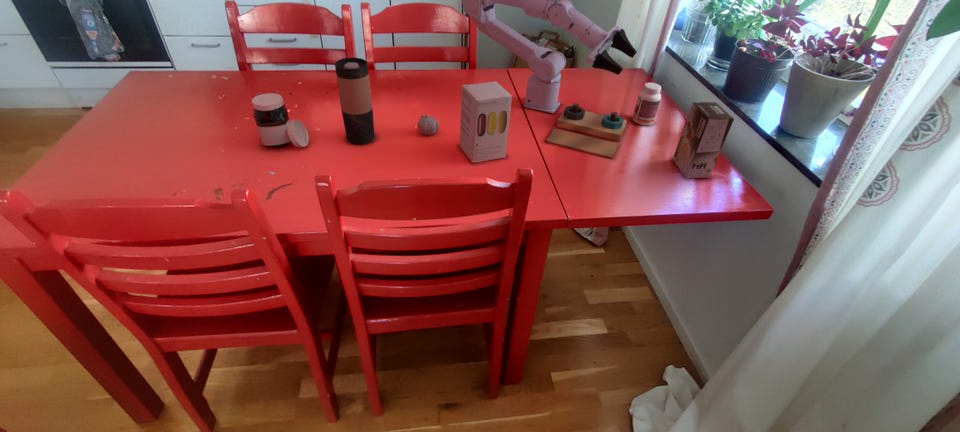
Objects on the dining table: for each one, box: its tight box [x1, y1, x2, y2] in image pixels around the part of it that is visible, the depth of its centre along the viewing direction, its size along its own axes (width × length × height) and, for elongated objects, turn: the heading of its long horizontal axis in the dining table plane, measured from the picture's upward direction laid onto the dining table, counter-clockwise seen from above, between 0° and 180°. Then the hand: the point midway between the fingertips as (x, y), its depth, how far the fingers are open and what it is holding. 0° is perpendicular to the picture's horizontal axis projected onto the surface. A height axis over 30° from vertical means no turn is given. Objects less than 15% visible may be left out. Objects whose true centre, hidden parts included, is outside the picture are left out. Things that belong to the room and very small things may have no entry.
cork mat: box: [545, 128, 619, 159], centre depth 124 cm, size 18×8×1 cm, turn 66°
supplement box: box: [459, 80, 513, 164], centre depth 113 cm, size 10×9×17 cm
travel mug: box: [334, 57, 375, 146], centre depth 114 cm, size 8×8×20 cm
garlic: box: [417, 114, 440, 136], centre depth 123 cm, size 6×5×5 cm
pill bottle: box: [632, 82, 662, 126], centre depth 133 cm, size 6×6×11 cm
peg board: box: [555, 102, 628, 142], centre depth 130 cm, size 18×10×6 cm, turn 66°
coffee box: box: [672, 101, 735, 179], centre depth 112 cm, size 9×6×16 cm
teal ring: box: [601, 113, 625, 130], centre depth 129 cm, size 6×6×2 cm
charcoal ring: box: [563, 105, 586, 121], centre depth 132 cm, size 6×6×2 cm
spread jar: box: [251, 92, 310, 150], centre depth 113 cm, size 12×11×12 cm
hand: (627, 63), depth 122 cm, fingers open, 7 cm apart
